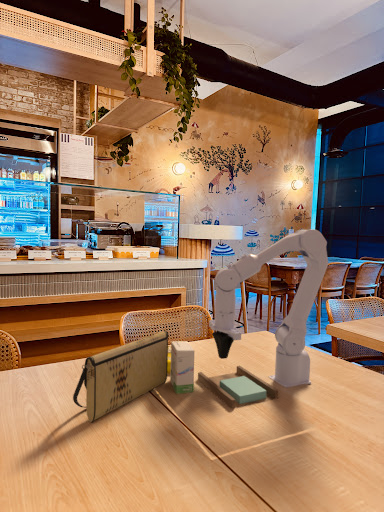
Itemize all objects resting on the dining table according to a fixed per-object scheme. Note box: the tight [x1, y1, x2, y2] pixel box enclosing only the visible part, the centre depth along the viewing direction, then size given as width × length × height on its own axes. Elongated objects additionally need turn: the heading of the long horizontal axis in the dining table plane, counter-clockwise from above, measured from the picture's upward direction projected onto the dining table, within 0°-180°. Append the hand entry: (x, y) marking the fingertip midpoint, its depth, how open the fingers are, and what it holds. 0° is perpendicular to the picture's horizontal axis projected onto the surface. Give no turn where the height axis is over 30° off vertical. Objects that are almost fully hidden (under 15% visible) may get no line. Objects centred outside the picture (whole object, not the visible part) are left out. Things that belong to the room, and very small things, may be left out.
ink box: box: [169, 340, 195, 394], centre depth 97 cm, size 8×5×12 cm, turn 14°
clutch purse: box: [72, 330, 170, 423], centre depth 89 cm, size 30×7×15 cm, turn 146°
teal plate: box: [219, 376, 267, 404], centre depth 94 cm, size 8×10×2 cm
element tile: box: [167, 345, 171, 374], centre depth 113 cm, size 15×15×5 cm
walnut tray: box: [197, 365, 279, 409], centre depth 96 cm, size 14×18×2 cm
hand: (223, 357), depth 102 cm, fingers closed
